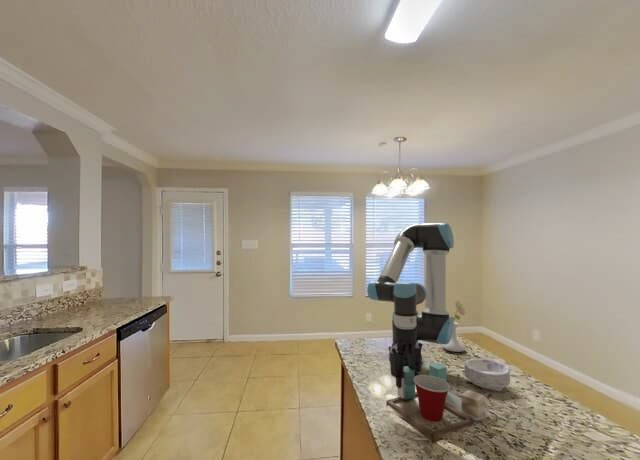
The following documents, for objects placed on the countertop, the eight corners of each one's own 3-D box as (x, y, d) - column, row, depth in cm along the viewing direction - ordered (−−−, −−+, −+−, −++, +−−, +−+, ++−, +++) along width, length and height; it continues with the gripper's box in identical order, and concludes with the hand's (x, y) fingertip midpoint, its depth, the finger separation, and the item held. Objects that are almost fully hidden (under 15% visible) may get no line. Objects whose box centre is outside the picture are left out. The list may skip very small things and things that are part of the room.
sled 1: (383, 404, 101) (383, 371, 102) (420, 393, 108) (419, 363, 109) (433, 443, 82) (432, 402, 82) (473, 426, 89) (472, 389, 89)
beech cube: (461, 410, 95) (461, 394, 95) (468, 405, 98) (468, 389, 99) (478, 417, 91) (477, 401, 92) (484, 411, 95) (484, 395, 95)
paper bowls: (457, 384, 116) (457, 363, 116) (476, 374, 125) (475, 355, 126) (500, 401, 104) (499, 377, 104) (517, 388, 113) (516, 366, 113)
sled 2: (426, 394, 108) (426, 365, 108) (440, 390, 111) (440, 362, 111) (477, 424, 90) (476, 390, 90) (492, 418, 93) (491, 385, 93)
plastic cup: (458, 430, 88) (457, 388, 88) (422, 432, 87) (422, 390, 87) (440, 409, 98) (440, 372, 99) (408, 411, 98) (408, 374, 98)
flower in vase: (454, 355, 146) (453, 304, 147) (436, 347, 156) (435, 299, 158) (473, 351, 151) (472, 301, 152) (455, 344, 162) (454, 298, 163)
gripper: (393, 332, 97) (394, 406, 96) (431, 326, 104) (432, 394, 103) (378, 326, 104) (379, 395, 103) (416, 321, 111) (417, 385, 110)
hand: (406, 394), depth 103 cm, fingers closed on sled 1, 4 cm apart
